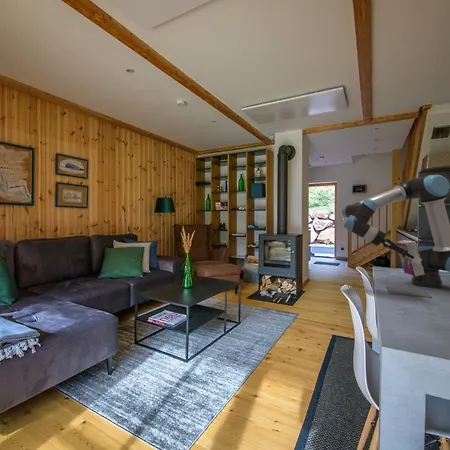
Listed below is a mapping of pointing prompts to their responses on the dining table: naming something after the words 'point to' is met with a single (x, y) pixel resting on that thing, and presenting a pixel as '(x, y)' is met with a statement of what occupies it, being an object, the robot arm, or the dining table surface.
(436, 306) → the dining table surface
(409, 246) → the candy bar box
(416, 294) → the rubber mat
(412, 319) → the dining table surface
